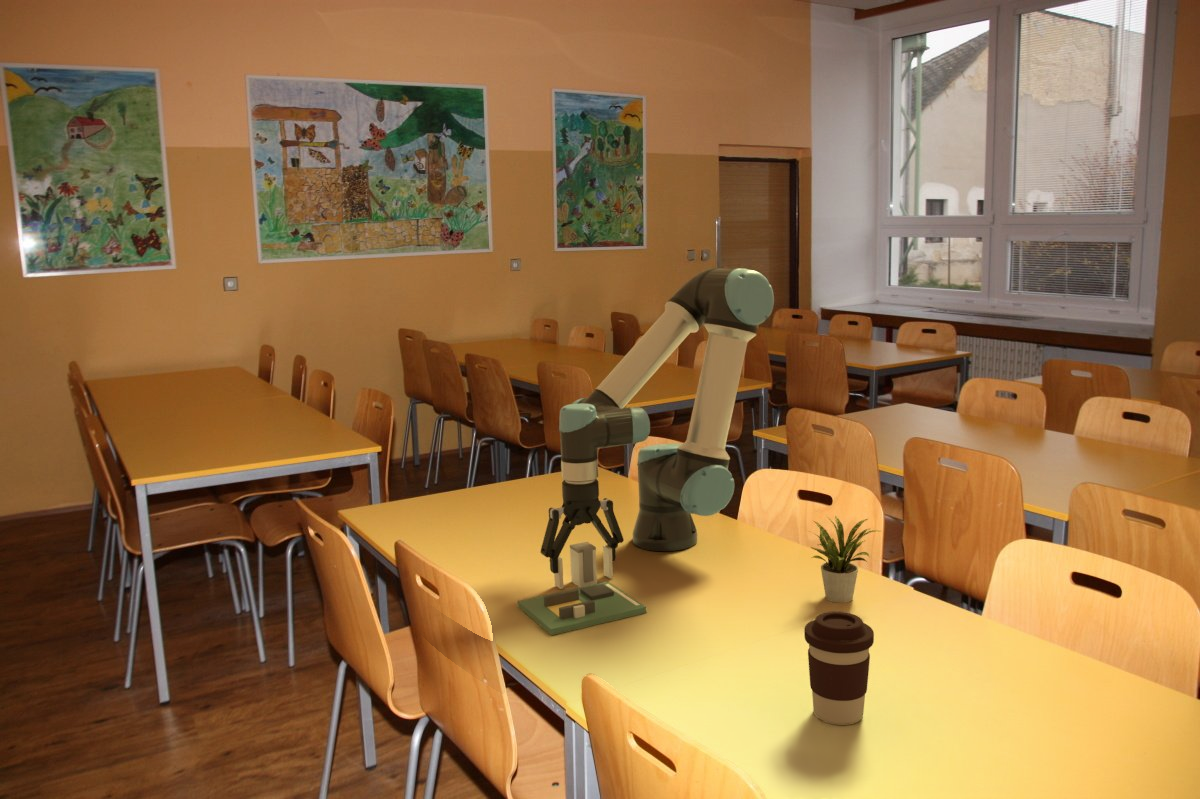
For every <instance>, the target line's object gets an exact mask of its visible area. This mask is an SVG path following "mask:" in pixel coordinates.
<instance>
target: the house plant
mask: <svg viewBox="0 0 1200 799" xmlns="http://www.w3.org/2000/svg"><path fill="white" fill-rule="evenodd" d="M834 517H835V518H834V520H835V523H836V524H835V523H834V522H833V520H832V519H831V518H828V519H829V521H830V522H831V524H832V525H833V527H834V529H835V532H836V538H837V541H838V547H837V543H836V541H835V539H834V538H831V535H830V533H829V532H828V531H827V529H826V528H825V527H824V526H823V525H821V524H820V523H818V521H814V520H813V523H814V524H815V525H816V526H817V528H818V529H819V535H817V534H816V533H814V535H815V536H817V538H818V539H819V542H820V543H819V544H817V546H819V545H820V547H821V546H822V548H823V550H822V549H821V548H818V547H813V546H812V547H811V546H810V549H812V550H814V551H817V553H818V554H819V553H820V554H821V555H823V556H825V557H826V558H827V560H826V559H824V558H823V557H822V556H820V555H814V556H812V557H811V559H812V558H814V559H820V560H823V561H824V563H822V564H821V566H820V570H821V576H822V583H823V584H822V585H823V589H824V594H825V599H826V600H828V601H829V602H833V603H840V604H843V603H848V602H849V603H850V602H851V601H853V599H854V594H855V589H856V582H857V577H858V571H859V567H858V565H856V564H853V563H851V562H855V561H863V562H866V563H868V560H866V559H865V558H863V557H857V556H862V555H863V556H868V557H869V558H870V554H869V553H868V552H867V551H861V552H858V553H857V554H855V552H856V551H857V550H858V548H859V547H860V546H861V545H862V544H863V543H865V542H866V540H862V541H861V539H862V538H863V537H865V536H866V535H869V534H870V533H874V532H879V533H880V532H881V530H877V529H875V530H871V528H866V529H864V530H862V531H861V532H859V533H857V530H858V529H859V528H860V527H861V526H862V524H863V523H865V522H867V521H868V520H869V518H866V519H863V520H860V521H858V522H857V523H856V524H855V525H854V526H853V527H852V528H851V530H850V532H849V534H848V535H847V539H846V541H845V533H844V532H845V531H844V526H843V523H842V522H841V520H840V519H839V518H838V516H836V515H835V516H834ZM807 532H809V533H811V531H808V530H807ZM859 541H860V542H859ZM838 548H839V549H838ZM854 554H855V555H854ZM853 555H854V556H853Z"/></svg>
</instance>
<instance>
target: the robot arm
mask: <svg viewBox="0 0 1200 799" xmlns="http://www.w3.org/2000/svg"><path fill="white" fill-rule="evenodd" d="M774 303H775V296H774V290H773V287H772V285H771V284H770V282H769V280H768V278H766V276H765V275H763V274H762V273H761V272H758V271H757V270H752V269H748V268H741V267H740V268H720V267H711V268H706V269H704V270H702V271H700V272H698V273H696V274H694V275H693V276H692V277H691V278H690V279H688V280H687V281H686V282H685V283H684V284H682V286H681V287H680V288H678V290H676V292H674V293H673V295H672V296H671V297H670V298H668V300H667V302H666V303H665V304H664V312H663V313H662V314H661V315H660V316H659V317H658V319H657V320H655V322H654V323H653V324H651V326H650V327H649V329H648V330H647V331H646V332H645V333H644V334H643V335H642V337H640V339H639V340H638V341H637V342H636V343H635V344H634V345H633V346H632V347H631V349H630V350H629V351H628V352H627V353H626V354H625V355H624V357H623V358H622V359H621V360H620V361H619V362H618V363H617V364H616V365H615V367H614V368H613V369H612V370H611V371H610V372H609V374H608V375H607V376H606V377H605V378H604V379H603V380H602V381H601V382H600V383H599V384H598V386H597V387H596V388H595V389H594V390H593V391H592V392H591V393H590V395H589V396H588V397H583V398H579V399H576V400H575V401H573V402H572V403H570V404H565V405H564V406H562V407H561V408H560V410H559V417H558V418H559V421H558V422H559V426H558V430H559V441H560V469H561V479H562V480H563V481H562V482H561V491H562V492H561V494H562V501H563V502H562V505H561V507H556V508H554V507H549V508H548V521H547V526H546V529H545V532H544V536H543V541H542V544H541V547H540V554H541V555H542V556H544V557H545V558H549V567H550V568H549V570H550V571H551V573H553V574H554V576H553V578H554V586H555V587H557V588H558V589H559V590H564V588H565V587H564V569H563V568H564V566H563V557H562V556H560V555H561V553H562V551H563V549H564V547H565V545H566V544H567V540H568V539H569V537H570V535H571V533H572V531H573V530H574V529H575V528H576V526H580V525H581V526H582V525H583V524H587V525H588V524H592V525H593V527H594V528H595V529H596V531H597V532H598V534H599V535H600V536H601V538H602V539H603V541H604V542H605V544H603V545H602V554H603V555H602V556H603V558H602V559H603V561H602V562H603V576H605V577H606V578H608V579H613V578H614V567H613V562H616V559H617V556H616V555H617V554H616V553H617V552H616V549H617V548H618V547H619V544H622V543H624V536H623V533H622V531H621V528H620V525H619V522H618V520H617V518H616V515H615V512H614V502H613V501H612V500H611V499H608V498H605V497H604V498H603V499H602V500H599V496H600V491H599V490H600V489H599V480H598V477H599V465H598V464H599V463H598V457H599V456H598V449H604V448H613V447H619V446H620V447H621V446H625V445H626V446H627V445H634V444H638V443H642V442H644V441H646V440H647V439H648V437H649V435H650V433H651V422H650V417H649V414H648V413H647V411H646V410H645V409H644V408H642V407H639V406H637V407H632V406H628V407H626V406H627V405H628V404H629V402H630V401H631V400H632V399H633V398H634V396H636V395H637V393H638V392H640V390H641V389H642V388H643V386H644V385H645V384H646V383H647V382H648V381H649V380H650V379H651V377H653V375H654V374H656V372H657V371H658V370H659V368H660V367H662V365H664V363H665V362H666V361H667V359H669V357H670V356H671V355H672V354H673V353H674V351H675V350H676V349H677V348H679V346H680V345H681V344H682V343H683V342H684V341H685V339H686V338H687V337H688V336H689V335H690V333H697V332H698V331H699V330H700V329H701V328H702V326H704V327H705V329H706V331H707V333H708V337H707V341H706V342H707V343H706V346H705V351H704V355H703V360H702V365H701V370H700V374H699V380H698V384H697V389H696V393H695V399H694V403H693V408H692V412H691V416H690V423H689V427H688V431H687V436H686V440H685V442H683V443H679V442H678V443H675V442H674V443H664V444H663V443H661V444H655V445H652V444H651V445H648V446H645V447H642V448H640V449H639V451H638V453H637V463H636V465H637V475H638V476H637V477H638V479H637V480H638V503H639V504H638V506H639V509H638V513H637V516H636V520H635V524H634V526H633V530H632V543H633V545H634V546H636V547H638V548H640V549H642V550H647V551H653V552H672V551H673V552H675V551H681V550H685V549H689V548H691V547H693V546H694V545H696V544H697V543H698V531H697V530H698V529H697V528H696V525H695V522H694V519H693V516H692V515H693V514H694V515H697V516H701V517H710V516H714V515H716V514H718V513H719V512H720V511H721V510H724V509H725V508H726V507H727V506H728V504H729V503H730V501H731V500H732V498H733V495H734V492H735V479H734V478H733V475H732V473H731V471H729V466H730V465H729V464H730V460H731V457H730V455H729V454H728V452H727V451H726V447H727V446H726V445H727V441H728V440H727V439H728V435H729V430H730V426H731V423H732V422H731V421H732V417H733V412H734V407H735V403H736V398H737V393H738V388H739V384H740V378H741V374H742V370H743V364H744V360H745V356H746V352H747V347H748V343H749V342H750V341H751V340H752V339H753V338H754V337H756V336H757V334H758V328H759V325H761V324H762V323H764V322H765V321H766V319H769V318H770V316H771V314H772V312H773V309H774ZM600 508H601V510H602V511H603V514H604V516H605V519H606V523H607V524H608V528H609V530H610V532H609V531H608V529H607V528H606V526H605V525H604V524H603V522H602V519H600V517H599V516H598V515H597V514H598V512H599V510H600ZM562 514H563V515H564V516H565V517H564V519H563V521H562V523H561V524H562V525H561V527H560V529H558V528H559V524H560V520H561V518H562ZM558 530H559V531H558ZM557 531H558V534H557ZM610 533H611V534H610Z"/></svg>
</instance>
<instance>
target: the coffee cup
mask: <svg viewBox="0 0 1200 799" xmlns="http://www.w3.org/2000/svg"><path fill="white" fill-rule="evenodd" d="M803 632H804V640H805V641H806V643H807V644H808V649H807V656H808V658H807V660H808V670H809V671H808V672H809V674H808V675H809V684H810V689H811V691H812V692H811V693H812V694H811V695H812V707H813V714H814V715H815V716H816V717H817V719H819V720H821V721H822V722H825V723H826V724H827V723H828V724H832V725H836V726H849V725H853V724H855V723H858V722H859V721H861V720H862V718H863V716H864V712H865V698H866V693H867V690H868V685H869V684H868V682H869V671H870V660H871V659H870V658H871V654H870V648H871V647H872V646H873V645H874V640H875V634H874V633H875V632H874V630H873V628H872V626H870V625H868V624H867V623H865V622H864V620H863V619H862V618H861V617H860V616H858V615H856V614H853V613H850V612H847V611H846V612H845V611H838V610H836V611H835V610H834V611H833V610H832V611H826V612H822V613H819V614H818V615H817V616H816V617H815V619H814V620H813V619H812V620H811V621H809V622H808V623H806V624H805V626H804V631H803Z"/></svg>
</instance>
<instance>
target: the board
mask: <svg viewBox="0 0 1200 799" xmlns="http://www.w3.org/2000/svg"><path fill="white" fill-rule="evenodd" d="M517 608H519V609H520V610H521V611H522V612H523V613H524V614H526V615H527V616H528V617H529V618H530V619H532V621H534V622H535V623H536V624H538V626H540V627H541V628H542V629H543V630H544V631H546V633H548V634H549V635H550V636H554V635H559V634H562V633H567V632H571V631H572V632H573V631H575V630H580V629H584V628H588V627H593V626H596V625H601V624H604V623H610V622H615V621H617V620H621V619H622V620H623V619H625V618H626V619H627V618H631V617H635V616H637V615H638V616H639V615H643V614H647V606H645V605H644V604H643V603H641V601H638V599H635V598H634V597H632V596H631V595H629V594H627V593H626V592H624V591H623V590H621V589H619V587H616V586H615V585H614V584H612V583H610V582H609V581H605V582H599V583H597V584H594V585H589V586H585V587H576V588H572V589H567V590H563V591H557V592H553V593H549V594H544V595H540V596H536V597H531V598H525V599H521V600H517Z"/></svg>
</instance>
